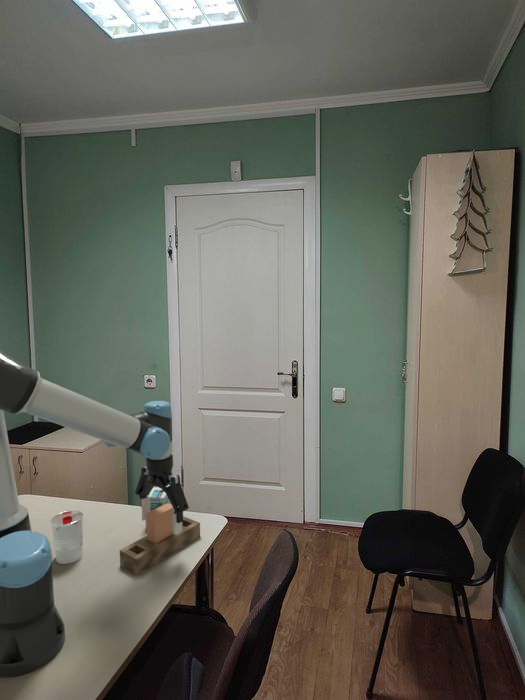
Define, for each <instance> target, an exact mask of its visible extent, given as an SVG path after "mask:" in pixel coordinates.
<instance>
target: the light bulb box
mask: <svg viewBox="0 0 525 700" xmlns="http://www.w3.org/2000/svg"><path fill="white" fill-rule="evenodd" d="M168 486H170V485H169V484H168ZM168 486H167V487H168ZM149 494H150V495H148V496H150V507H151V511H152V510H154V509H157V508H159V507H161V506H163V505H165V504H167V503H169V504H171V502H170V500H169V499H168V497H167V495H166V493H165V492H163V490H162V489H161V488H159V487H156V486H154V487H153V489H152V490H151V492H150V493H149ZM148 496H147V497H148ZM171 505H172V504H171ZM144 521H145V530H147V519H146V520H144Z"/></svg>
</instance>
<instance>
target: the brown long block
mask: <svg viewBox="0 0 525 700" xmlns="http://www.w3.org/2000/svg"><path fill="white" fill-rule="evenodd" d="M199 536H200V537H201V522H199V521H196V520H195V519H194V520H193V519H191V518H189V517H187V516H184V515H183V522H182V531H181V532H179V533H177V534H176V535H175V534H173V535H170V536H168V537H166V538H165V539H163V540H161V541H160V542H159V543H157V544H153V543H150V542H149V540H147V535H146V536H144V537H141V538H139V539H138V540H136V541H134V542H132V543H131V544H129V545H127V546H125V547H123V548H121V549H119V563H120V567H122V568H124V569H125V570H128V571H130V572H131V573H133V574H135V575H136V576H138V575H140V574H142V573H144V571H146V570H149V569H150V568H152V567H153V566H155V565H156V564H158V563H159V562H161V561H163V560H164V559H166V558H167V557H169V556H171V555H172V554H174V553H176V552H177V551H179V550H181V549H182V548H184V547H185V546H187V545H189V544H190V542H191V541H192V542H194V541H195V540H197V539H199V538H200V537H199ZM198 537H199V538H198ZM196 538H197V539H196ZM193 540H194V541H193ZM192 542H191V543H192Z"/></svg>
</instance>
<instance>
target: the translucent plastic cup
mask: <svg viewBox="0 0 525 700" xmlns="http://www.w3.org/2000/svg"><path fill="white" fill-rule="evenodd" d="M83 517H84V513H83V512H82V511H80V510H67V511H62V512H60V513H58V514H56V515H54V516H53V517H51V519H50V522H51V525H52V534H53V535H52V536H53V538H52V539H53V545H54V551H55V560H56V562H57V563H58V564H60V565H69V564H72V563H75V562H77V561H79V560H81V558H82V557H83V554H84V553H83V551H84V549H83V548H84V546H83V540H84V535H83V534H84V530H83V527H84V526H83Z"/></svg>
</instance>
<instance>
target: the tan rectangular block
mask: <svg viewBox="0 0 525 700" xmlns="http://www.w3.org/2000/svg"><path fill="white" fill-rule="evenodd" d="M174 511H175V510H174V508H173V506H172V505H171V504H169V503H167V504H165V505H163V506H161V507H159V508H157V509H154V510H152V511H150V512H148V513H146V514H147V529H146V536H147V540H149V542H150V543H153V544H157V543H159V542H160V541H161V540H163V539H165V538H166V537H168V536H170V535H173V512H174Z"/></svg>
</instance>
